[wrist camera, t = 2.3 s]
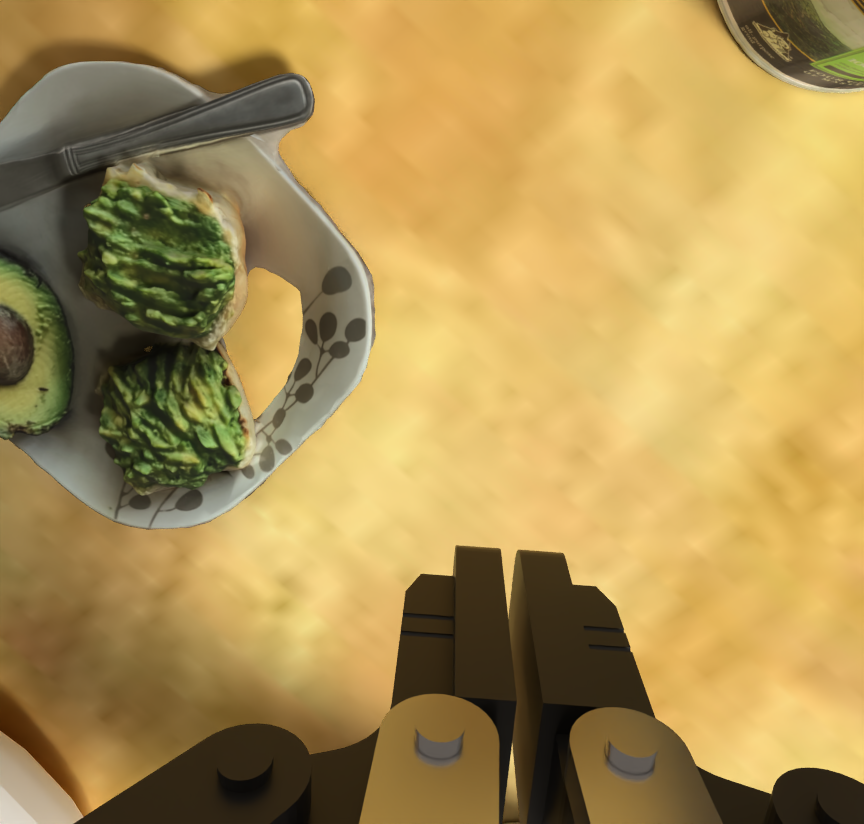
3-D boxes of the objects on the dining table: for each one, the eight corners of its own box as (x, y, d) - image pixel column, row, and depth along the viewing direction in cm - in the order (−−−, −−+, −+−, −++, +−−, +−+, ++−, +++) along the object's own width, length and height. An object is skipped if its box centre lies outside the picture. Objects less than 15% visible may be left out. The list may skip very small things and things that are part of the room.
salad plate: (155, -100, 25) (92, -154, 21) (487, 281, 29) (492, 301, 25) (-149, 271, 30) (-252, 289, 26) (173, 557, 34) (131, 616, 30)
